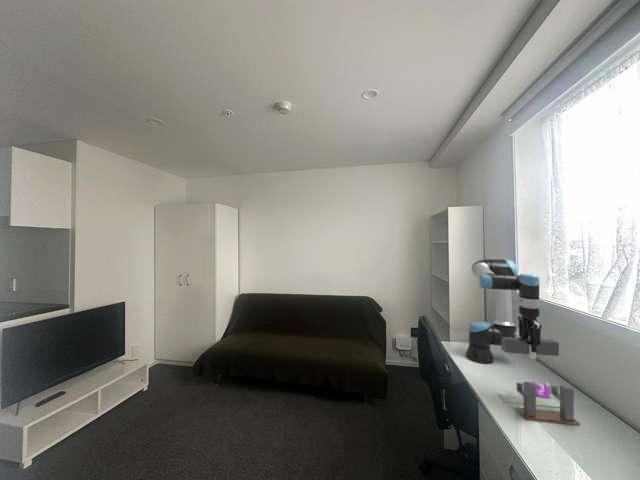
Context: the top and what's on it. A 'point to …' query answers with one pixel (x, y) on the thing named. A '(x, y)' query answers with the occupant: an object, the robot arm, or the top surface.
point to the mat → (539, 401)
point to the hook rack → (546, 415)
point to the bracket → (542, 389)
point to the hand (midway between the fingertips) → (529, 356)
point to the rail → (523, 347)
